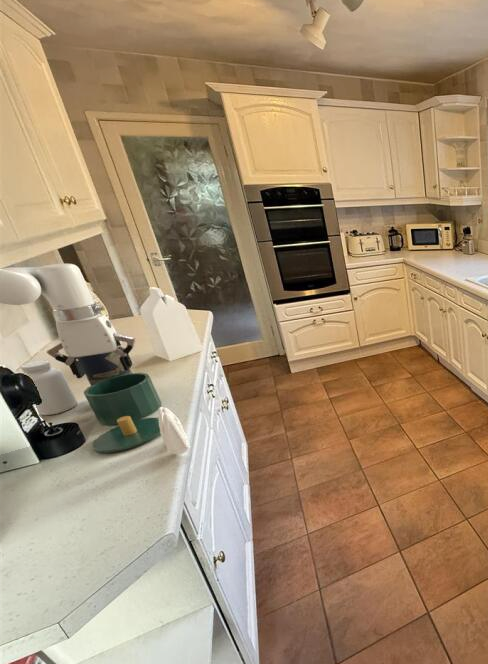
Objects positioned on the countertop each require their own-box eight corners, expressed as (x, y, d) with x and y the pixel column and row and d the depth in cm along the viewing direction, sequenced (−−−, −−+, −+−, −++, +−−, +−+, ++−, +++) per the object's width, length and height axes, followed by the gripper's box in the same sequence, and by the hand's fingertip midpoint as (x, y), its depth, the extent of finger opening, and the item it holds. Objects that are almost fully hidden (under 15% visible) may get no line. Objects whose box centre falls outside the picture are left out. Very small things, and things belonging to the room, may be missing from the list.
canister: (121, 404, 119) (94, 350, 112) (90, 404, 119) (61, 350, 112) (148, 389, 128) (125, 337, 120) (120, 389, 128) (95, 338, 121)
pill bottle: (82, 406, 119) (57, 361, 112) (43, 419, 112) (15, 372, 106) (74, 399, 122) (50, 355, 116) (36, 411, 116) (9, 365, 110)
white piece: (193, 454, 96) (177, 415, 92) (172, 462, 94) (153, 423, 89) (185, 433, 104) (170, 397, 100) (165, 441, 101) (148, 404, 97)
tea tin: (91, 431, 106) (74, 400, 102) (109, 407, 117) (94, 379, 113) (155, 417, 112) (141, 387, 108) (166, 396, 123) (154, 369, 119)
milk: (155, 355, 153) (127, 290, 143) (189, 344, 162) (165, 283, 152) (170, 361, 148) (142, 293, 137) (204, 350, 157) (180, 286, 146)
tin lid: (84, 461, 94) (72, 442, 92) (106, 430, 106) (96, 412, 104) (160, 443, 101) (151, 424, 98) (173, 415, 112) (165, 398, 110)
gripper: (126, 304, 108) (149, 361, 115) (38, 314, 101) (68, 374, 107) (116, 311, 102) (142, 370, 109) (22, 322, 95) (55, 385, 101)
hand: (105, 372), depth 108 cm, fingers open, 9 cm apart
